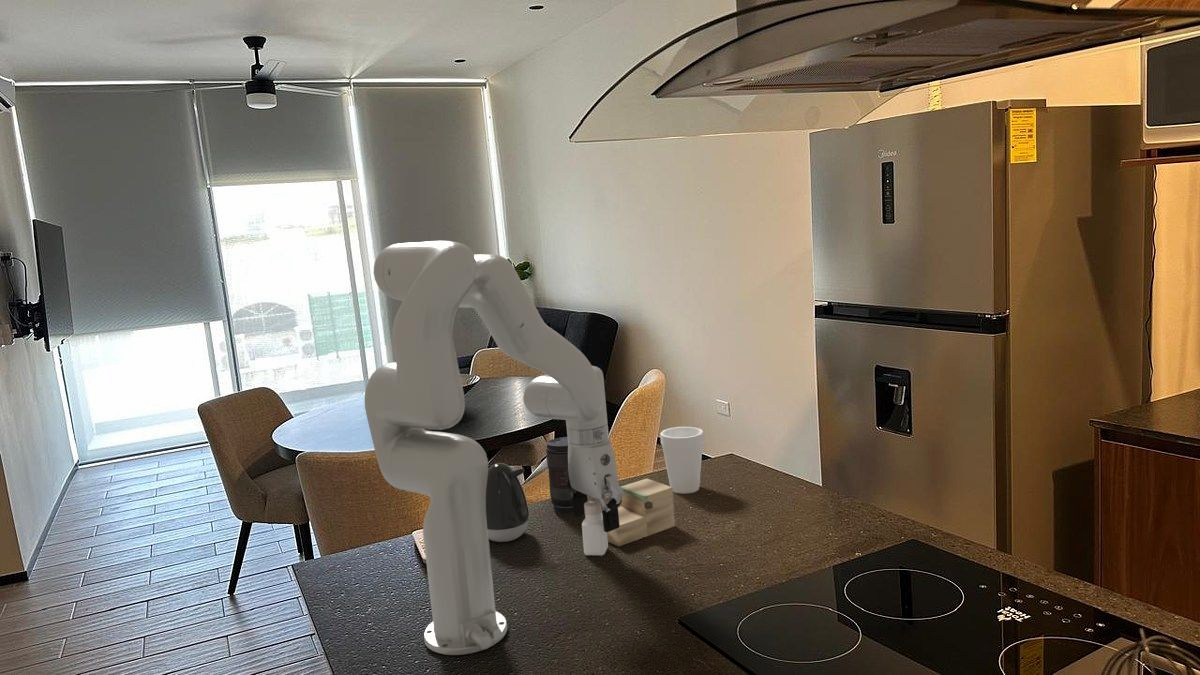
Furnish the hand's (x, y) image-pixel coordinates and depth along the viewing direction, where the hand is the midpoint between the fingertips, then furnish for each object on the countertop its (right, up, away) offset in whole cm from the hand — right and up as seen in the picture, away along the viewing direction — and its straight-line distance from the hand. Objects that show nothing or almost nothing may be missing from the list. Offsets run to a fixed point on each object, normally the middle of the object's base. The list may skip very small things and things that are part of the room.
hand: (596, 522), depth 155 cm
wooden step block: (+8, -4, +9) cm, 13 cm away
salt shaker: (0, -6, 0) cm, 6 cm away
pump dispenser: (-18, -6, +11) cm, 22 cm away
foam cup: (+20, 0, +31) cm, 37 cm away
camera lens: (-6, -3, +24) cm, 25 cm away
